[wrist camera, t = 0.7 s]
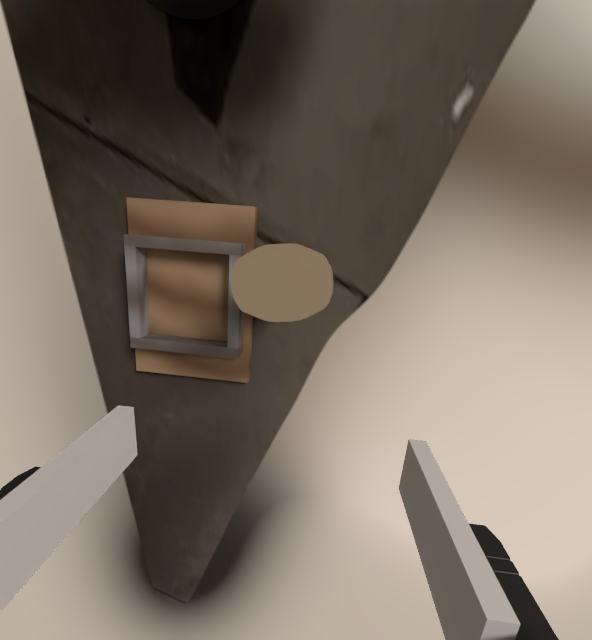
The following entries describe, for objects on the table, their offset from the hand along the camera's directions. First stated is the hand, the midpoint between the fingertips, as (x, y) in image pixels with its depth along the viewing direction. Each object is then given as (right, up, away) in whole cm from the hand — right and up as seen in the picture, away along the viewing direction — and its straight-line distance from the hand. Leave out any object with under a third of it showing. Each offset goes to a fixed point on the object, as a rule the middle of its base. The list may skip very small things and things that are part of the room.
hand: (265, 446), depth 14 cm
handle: (+2, +12, +19) cm, 22 cm away
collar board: (-10, +9, +21) cm, 25 cm away
